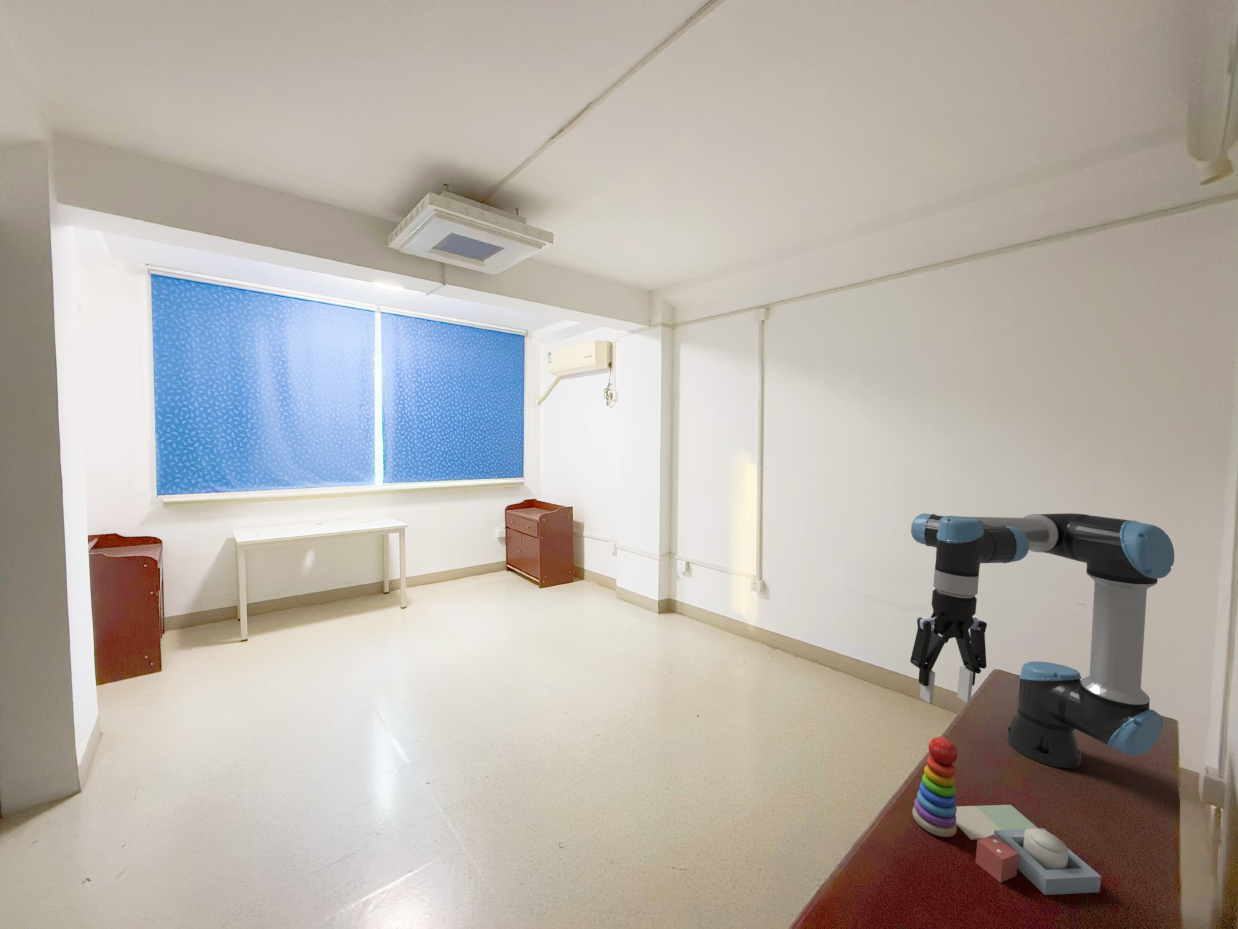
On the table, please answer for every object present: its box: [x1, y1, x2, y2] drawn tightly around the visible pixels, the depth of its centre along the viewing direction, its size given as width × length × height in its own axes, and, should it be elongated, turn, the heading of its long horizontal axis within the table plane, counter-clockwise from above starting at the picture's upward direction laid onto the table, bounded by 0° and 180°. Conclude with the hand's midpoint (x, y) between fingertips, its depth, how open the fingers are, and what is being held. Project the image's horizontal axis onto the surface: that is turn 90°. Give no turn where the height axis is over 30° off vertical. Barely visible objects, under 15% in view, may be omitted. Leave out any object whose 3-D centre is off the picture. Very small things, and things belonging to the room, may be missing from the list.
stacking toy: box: [911, 736, 958, 838], centre depth 104 cm, size 8×8×19 cm
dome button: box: [1023, 828, 1069, 870], centre depth 95 cm, size 6×6×5 cm
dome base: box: [994, 827, 1102, 896], centre depth 95 cm, size 11×11×3 cm
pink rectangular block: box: [974, 835, 1019, 883], centre depth 94 cm, size 4×4×5 cm
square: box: [956, 805, 1001, 841], centre depth 105 cm, size 8×8×1 cm
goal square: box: [975, 804, 1039, 830], centre depth 106 cm, size 8×8×1 cm
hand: (944, 699), depth 103 cm, fingers open, 8 cm apart
